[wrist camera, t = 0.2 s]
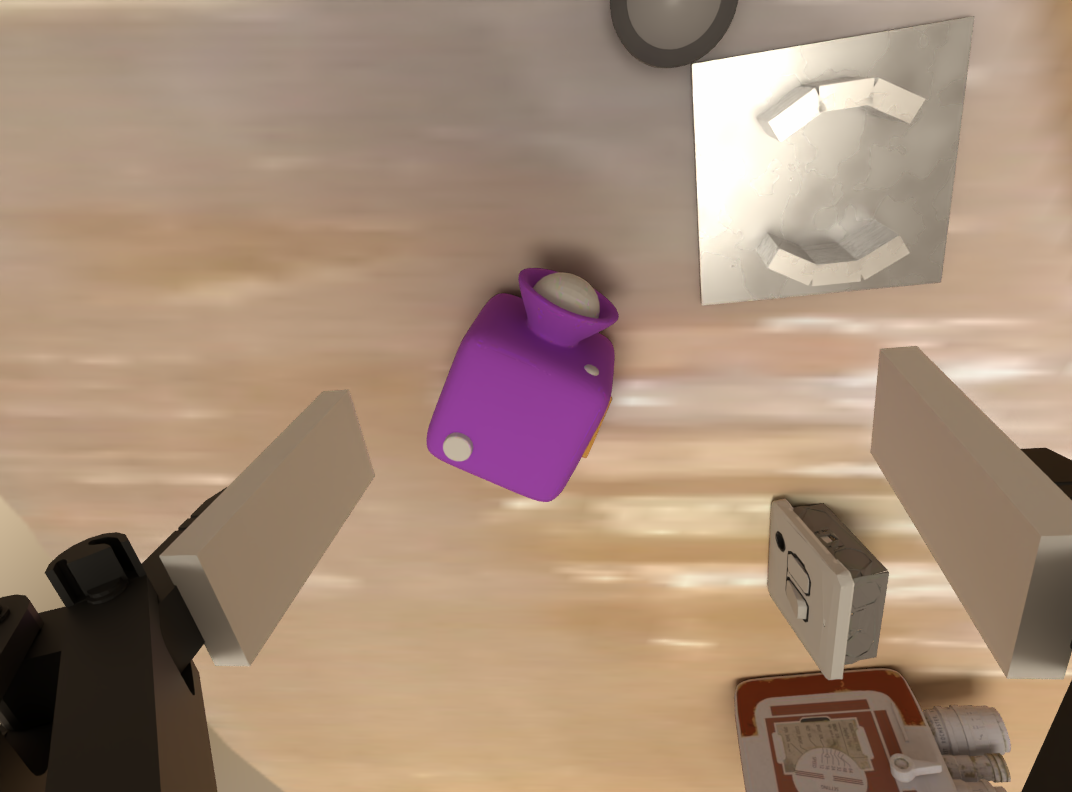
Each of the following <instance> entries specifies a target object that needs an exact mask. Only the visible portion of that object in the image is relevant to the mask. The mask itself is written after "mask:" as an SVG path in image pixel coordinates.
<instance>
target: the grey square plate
mask: <svg viewBox="0 0 1072 792" xmlns="http://www.w3.org/2000/svg"><path fill="white" fill-rule="evenodd" d="M973 24H974V16H972V17H966V18H960V19H954V20H948V21H942V22H936V23H930V24H925V25H919V26H913V27H907V28H901V29H895V30H889V31H883V32H877V33H872V34H866V35H860V36H854V37H848V38H842V39H836V40H830V41H824V42H819V43H813V44H807V45H801V46H795V47H789V48H783V49H777V50H771V51H765V52H760V53H754V54H748V55H742V56H736V57H730V58H724V59H718V60H712V61H707V62H701V63H695V64H691V74H692V98H693V121H694V145H695V168H696V192H697V215H698V239H699V263H700V286H701V304H702V305H712V304H723V303H733V302H743V301H754V300H764V299H774V298H785V297H795V296H805V295H816V294H826V293H836V292H847V291H857V290H867V289H878V288H888V287H898V286H909V285H919V284H929V283H940V282H941V279H942V271H943V263H944V255H945V247H946V239H947V231H948V223H949V215H950V207H951V199H952V191H953V183H954V175H955V168H956V160H957V152H958V144H959V136H960V128H961V120H962V112H963V104H964V96H965V88H966V80H967V72H968V64H969V56H970V48H971V40H972V32H973Z"/></svg>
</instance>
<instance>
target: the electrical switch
mask: <svg viewBox="0 0 1072 792" xmlns="http://www.w3.org/2000/svg"><path fill="white" fill-rule="evenodd" d="M823 530H828V531H825V532H824V531H823ZM830 536H832V537H833V538H835V539H836V540H835V541H832V540H831V539H830ZM884 571H887V569H886V568H885V567H884V566H883V565H882V564H881V563H880V562H879V561H878V560H877V559H876V557H875V556H874V555H873V554H872V553H871V552H870V551H869V550H868V549H867V548H866V547H865V546H864V545H863V544H862V543H861V542H860V541H859V540H858V539H857V538H856V537H855V536H854V535H853V533H852V532H851V531H850V530H849V529H848V528H847V527H846V526H845V525H844V524H843V523H842V522H841V521H840V520H839V519H838V518H837V517H836V516H835V515H834V514H833V513H832V512H831V511H830V509H829V508H828V507H827V506H826V505H825V504H824V503H823V504H817V505H811V506H798V507H794V508H793V507H792V506H791V505H790V503H789V502H788V501H787V499H779V500H775V501H773V502H772V504H771V523H770V546H769V568H768V590H769V593H770V596H771V598H772V599H773V601H774V602H775V604H776V605H777V607H778V608H779V610H780V611H781V613H782V614H783V616H784V617H785V619H786V620H787V622H788V623H789V624H790V626H791V627H792V629H793V630H794V632H795V633H796V635H797V636H798V638H799V639H800V641H801V642H802V644H803V645H804V647H805V648H806V650H807V651H808V653H809V654H810V656H811V657H812V659H813V660H814V661H815V663H816V664H817V666H818V667H819V669H820V670H821V672H822V673H823V675H824V676H825V678H826V679H828V680H835V679H843V671H844V665H846V664H853V663H855V662H857V661H858V660H863V659H869V658H874V657H876V656H877V649H878V642H879V636H880V629H881V623H882V616H883V609H884V603H885V596H886V589H887V583H888V576H889V572H888V571H887V572H884ZM880 572H882V573H880ZM876 573H878V574H876ZM880 586H881V587H880ZM851 613H853V615H851Z"/></svg>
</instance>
